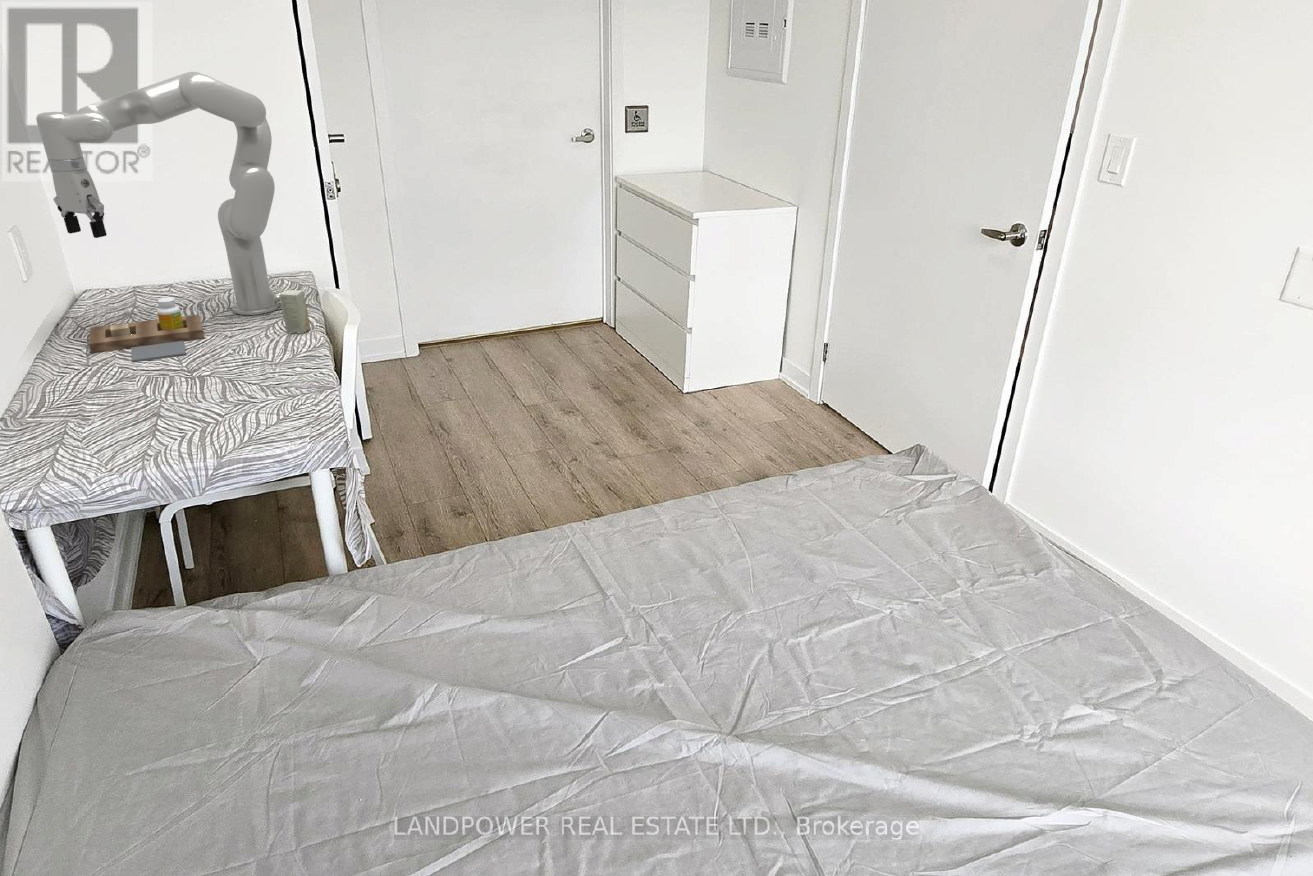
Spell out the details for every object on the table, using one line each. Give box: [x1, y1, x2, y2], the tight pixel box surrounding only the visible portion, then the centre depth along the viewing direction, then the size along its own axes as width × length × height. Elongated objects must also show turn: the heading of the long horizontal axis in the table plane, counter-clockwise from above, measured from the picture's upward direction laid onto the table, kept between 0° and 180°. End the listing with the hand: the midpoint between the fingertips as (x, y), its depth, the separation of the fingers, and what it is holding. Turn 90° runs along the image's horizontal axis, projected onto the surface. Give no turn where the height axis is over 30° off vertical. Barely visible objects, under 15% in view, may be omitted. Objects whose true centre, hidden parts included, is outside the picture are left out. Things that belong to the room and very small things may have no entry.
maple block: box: [110, 323, 131, 337], centre depth 224 cm, size 4×4×4 cm
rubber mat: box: [131, 341, 187, 363], centre depth 218 cm, size 12×10×1 cm
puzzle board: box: [88, 314, 206, 354], centre depth 227 cm, size 26×14×2 cm, turn 119°
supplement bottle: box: [156, 297, 184, 331], centre depth 228 cm, size 5×5×10 cm
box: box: [279, 289, 311, 334], centre depth 233 cm, size 5×4×11 cm
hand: (87, 234), depth 219 cm, fingers open, 9 cm apart
